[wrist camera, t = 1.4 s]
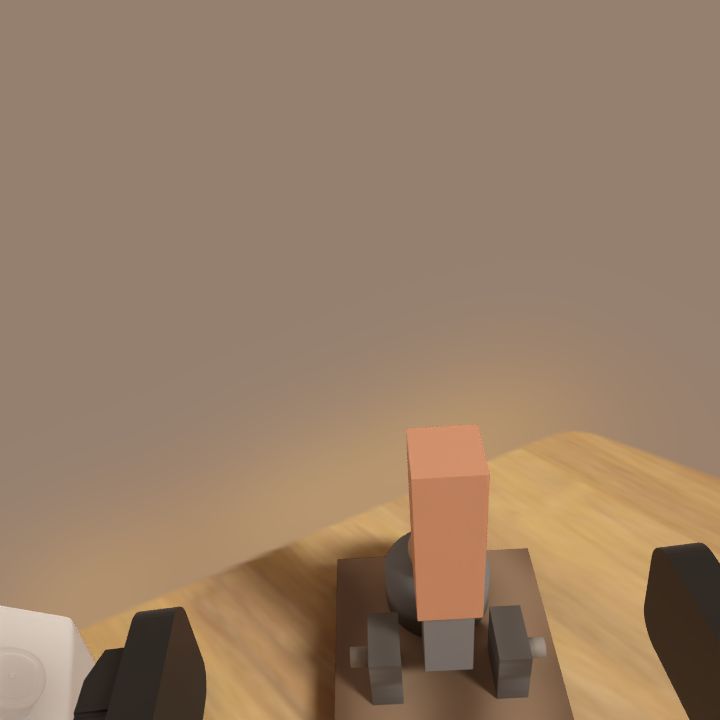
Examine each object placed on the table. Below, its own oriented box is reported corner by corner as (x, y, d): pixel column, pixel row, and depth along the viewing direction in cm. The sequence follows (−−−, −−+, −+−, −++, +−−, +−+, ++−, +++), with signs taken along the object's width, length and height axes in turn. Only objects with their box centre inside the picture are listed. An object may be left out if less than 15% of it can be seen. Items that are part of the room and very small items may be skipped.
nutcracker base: (336, 821, 33) (319, 741, 28) (340, 579, 44) (328, 495, 40) (588, 810, 32) (609, 726, 28) (525, 568, 44) (534, 482, 39)
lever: (420, 681, 34) (411, 479, 26) (415, 627, 36) (406, 428, 28) (480, 678, 34) (489, 474, 26) (471, 624, 36) (477, 424, 28)
